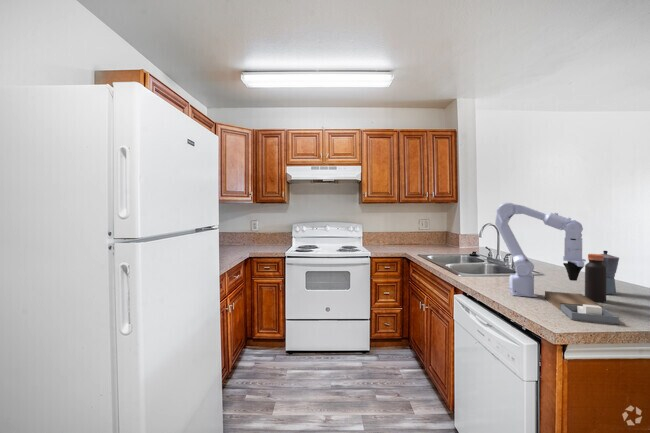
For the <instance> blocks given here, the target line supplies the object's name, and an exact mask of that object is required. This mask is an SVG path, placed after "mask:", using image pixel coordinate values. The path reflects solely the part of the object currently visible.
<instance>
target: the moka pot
mask: <svg viewBox="0 0 650 433" xmlns="http://www.w3.org/2000/svg"><path fill="white" fill-rule="evenodd" d="M602 252H603V253H600V255H604V260H603V264H604V265H605V266H606V267H607V280H606V295H611V296H612V295H613V296H614V295H617V289H616V280H615V277H616V273H617V270H618V266H619V260H620V257H618V256H616V255H615V256H614V255H611V254H608V250H603V251H602Z"/></svg>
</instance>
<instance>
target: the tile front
mask: <svg viewBox="0 0 650 433" xmlns="http://www.w3.org/2000/svg"><path fill="white" fill-rule="evenodd" d="M583 313H586V314H596V315H602V308H601V307H600V306H596V305H585V304H583Z"/></svg>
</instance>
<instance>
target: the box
mask: <svg viewBox="0 0 650 433" xmlns="http://www.w3.org/2000/svg"><path fill="white" fill-rule="evenodd" d="M560 312H562V313H563V314H564V315H565V316H566V317H568V318H569V319H570V320H571V321H572V320H573V321H580V322H590V323H591V322H592V323H598V324H599V323H600V324H609V325H618V326H619V324H620V317H619V316H617V315H616V314H615V313H613V312H611V311H609V310H607V309H606V308H604V307H603V308H602V315H596V314H586V313H578V312H577V306H575V305H564V304H561V310H560Z"/></svg>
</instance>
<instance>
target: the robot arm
mask: <svg viewBox="0 0 650 433" xmlns="http://www.w3.org/2000/svg"><path fill="white" fill-rule="evenodd" d="M514 215H525V216H528V217H532V218H534V219H538V220H541V221H542V222H543V223H544V225H545V226H547V227H552V228H554V229H556V230H558V231H565V234H564V235H565V237H564V254H563V257H562V261H563V266H564V268H565V270H566V272H567V276H568V280H569V281H571V282H573V281H575V282H577V281H578V278H579V275H580V272H581V271H582V269H584V268H585V262H586V259H584V258H583V234H582V232H583V230H584V228H583V225H582V223H581V222H579V221H577V220H574V219H573V220H572V218H571V217H568V218H567V217H564V216H562V215H559V213H558V212H554V213H553V212H549V213H545V212H541V211H538V210H536V209H534V208H531V207H529V206H525V205H521V204H517V203H512V202H502V203H501V204H500V205H499V206H498V207H497V210H496V215H495V226H496V228H497V230H498V232H499V234H500V236H501V238H502V239H503V241H504V244H505V246H506V247H507V249H508V251H509V253H510V255H511V257H512V261H513V265H514V266H515V267H514V270H515V274H510V275H509V278H508V279H509V284H508V285H509V288H508V289H509V290H508V291H509V292H510V294H511V295H512V296H518V297H530V298H531V297H532V298H538V295H536V294H535V275H534V274H533V271H534V270H535V265H534V263H532V261H530V260H529V259H528V257H527V256H526V254H524V251H523V250H522V248H521V246H520V244H519V242H518V240H517V238H516V237H515V236H516V235H515V234H514V233H513V231H512V229H511V226H510V224H509V222H510V220H511V219H512V217H513V216H514ZM564 261H565V262H564Z"/></svg>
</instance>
